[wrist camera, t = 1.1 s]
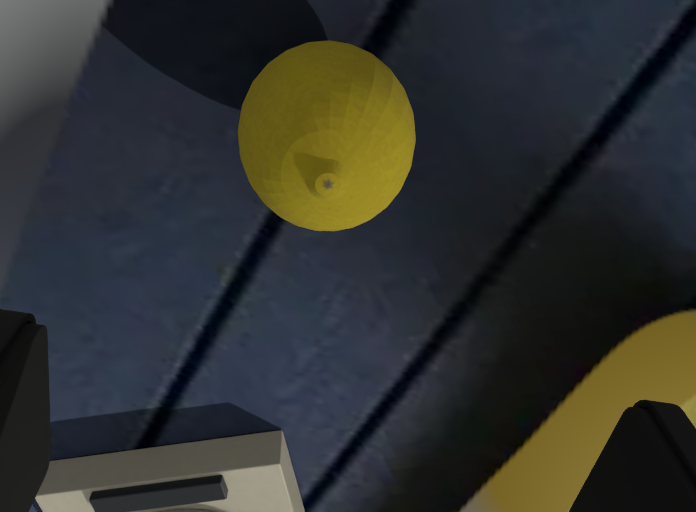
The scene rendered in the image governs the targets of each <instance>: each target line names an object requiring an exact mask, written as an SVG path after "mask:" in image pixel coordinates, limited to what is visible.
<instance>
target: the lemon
mask: <svg viewBox="0 0 696 512" xmlns="http://www.w3.org/2000/svg"><path fill="white" fill-rule="evenodd" d="M238 139H239V149H240V158H241V161H242V164H243V166H244V169H245V172H246V174H247V177H248V179H249V182H250V184H251V186H252V187H253V189H254V190H255V191H256V193H257V194H258V196H259V197H260V198H261V200H262V201H263V203H264V204H266V205H267V206H268V207H269V208H270V209H271V210H272V211H274V212H275V213H276V214H277V215H278V216H280V217H281V218H283V219H285V220H287V221H289V222H291V223H293V224H295V225H296V226H300V227H304V228H307V229H311V230H315V231H338V230H343V229H348V228H353V227H355V226H357V225H360V224H362V223H364V222H366V221H368V220H370V219H372V218H373V217H374V216H376V215H377V214H378V213H380V212H381V211H382V210H384V209H385V208H386V207H387V206H388V205H389V204H390V203H391V201H392V200H393V199H394V198H395V196H396V195H397V194H398V193H399V191H400V190H401V188H402V186H403V184H404V181H405V179H406V177H407V175H408V173H409V170H410V168H411V164H412V158H413V153H414V147H415V141H416V137H415V126H414V115H413V111H412V108H411V106H410V103H409V100H408V98H407V95H406V92H405V90H404V88H403V86H402V85H401V84H400V82H399V81H398V79H397V78H396V77H395V75H394V74H393V72H392V71H391V70H390V69H389V68H388V67H387V66H386V65H385V64H384V63H382V62H381V61H380V60H379V59H378V58H376V57H375V56H374V55H373V54H371V53H369V52H367V51H365V50H363V49H360V48H358V47H356V46H354V45H352V44H347V43H341V42H336V41H330V40H329V41H317V42H308V43H305V44H302V45H299V46H297V47H294V48H291V49H289V50H286V51H285V52H283V53H282V54H281V55H279V56H278V57H276V58H275V59H273V60H272V61H271V62H269V63H268V64H267V65H266V67H265V68H264V69H263V70H262V71H261V72H260V74H259V75H258V76H257V77H256V78H255V80H254V81H253V82H252V84H251V86H250V89H249V91H248V93H247V95H246V98H245V100H244V102H243V104H242V108H241V114H240V121H239V127H238Z"/></svg>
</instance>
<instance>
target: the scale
mask: <svg viewBox="0 0 696 512" xmlns="http://www.w3.org/2000/svg"><path fill="white" fill-rule="evenodd" d="M35 499H36V501H37V503H38V504H39V506H40V508H41V510H42V511H43V512H305V510H304V507H303V503H302V499H301V496H300V492H299V489H298V485H297V481H296V478H295V474H294V471H293V467H292V463H291V460H290V456H289V452H288V449H287V445H286V442H285V438H284V434H283V431H282V430H279V431H271V432H264V433H256V434H249V435H242V436H234V437H227V438H219V439H212V440H204V441H197V442H189V443H182V444H174V445H167V446H159V447H152V448H145V449H137V450H130V451H122V452H115V453H107V454H100V455H92V456H85V457H77V458H70V459H62V460H55V461H50V463H49V467H48V470H47V473H46V476H45V478H44V480H43V482H42V484H41V487H40V489H39V491H38V493H37V495H36V497H35Z"/></svg>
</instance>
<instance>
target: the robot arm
mask: <svg viewBox="0 0 696 512" xmlns="http://www.w3.org/2000/svg"><path fill="white" fill-rule="evenodd" d="M50 457H51V433H50V401H49V370H48V338H47V329H46V326H44V325H38V324H36V320H35V317H34V315H32V314H30V313H23V312H16V311H9V310H2V309H0V512H29V510H30V508H31V505H32V503H33V501H34V499H35V497H36V495H37V493H38V491H39V489H40V487H41V484H42V482H43V480H44V478H45V476H46V473H47V470H48V467H49V463H50ZM569 512H696V429H695V427H694V426H693V424H692V423H691V421H690V420H689V419H688V417H687V416H686V414H685V413H684V411H683V410H682V409H681V408H680V407H679V406H677V405H674V404H670V403H663V402H656V401H649V400H640V401H638V402H637V403H635V405H634V406H633V407H629V408H627V409H626V410H625V411H624V412H623V414H622V416H621V418H620V420H619V421H618V423H617V425H616V427H615V429H614V430H613V432H612V434H611V436H610V438H609V439H608V441H607V443H606V445H605V447H604V449H603V450H602V452H601V454H600V456H599V458H598V460H597V461H596V463H595V465H594V467H593V469H592V470H591V472H590V474H589V476H588V478H587V480H586V481H585V483H584V485H583V487H582V489H581V490H580V492H579V494H578V496H577V498H576V500H575V501H574V503H573V505H572V507H571V509H570V511H569Z"/></svg>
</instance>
